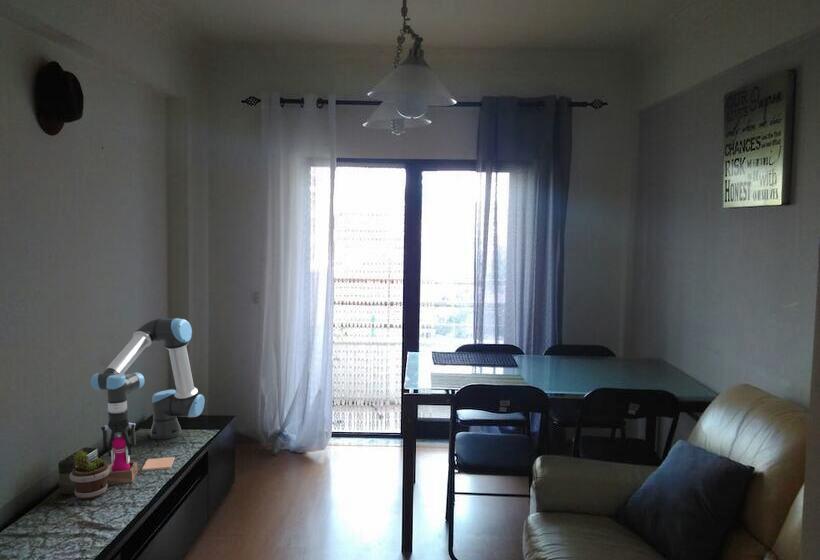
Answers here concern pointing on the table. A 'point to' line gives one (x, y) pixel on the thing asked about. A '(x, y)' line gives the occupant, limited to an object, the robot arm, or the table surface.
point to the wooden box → (122, 474)
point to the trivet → (158, 463)
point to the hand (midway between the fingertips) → (120, 462)
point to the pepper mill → (120, 454)
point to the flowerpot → (89, 476)
